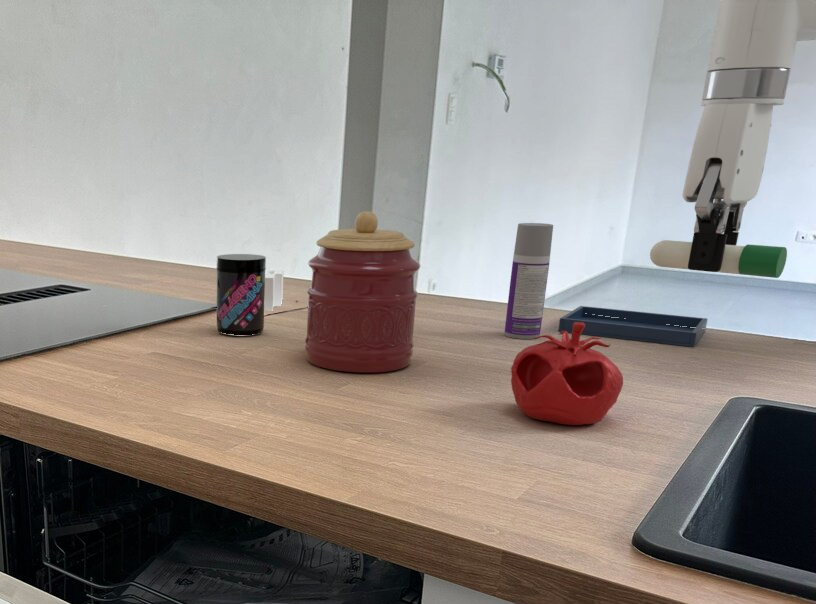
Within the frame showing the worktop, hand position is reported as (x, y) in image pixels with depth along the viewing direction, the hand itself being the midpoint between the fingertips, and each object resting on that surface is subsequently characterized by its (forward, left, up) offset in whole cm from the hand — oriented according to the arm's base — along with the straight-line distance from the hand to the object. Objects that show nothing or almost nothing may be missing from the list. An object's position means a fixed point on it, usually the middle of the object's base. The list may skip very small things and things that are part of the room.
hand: (709, 267), depth 96 cm
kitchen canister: (+34, +17, -12) cm, 40 cm away
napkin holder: (+63, -9, -12) cm, 65 cm away
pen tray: (+10, -22, -12) cm, 27 cm away
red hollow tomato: (+8, +26, -12) cm, 30 cm away
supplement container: (+55, +11, -12) cm, 57 cm away
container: (+22, -10, -12) cm, 27 cm away
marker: (0, 0, 0) cm, 0 cm away
